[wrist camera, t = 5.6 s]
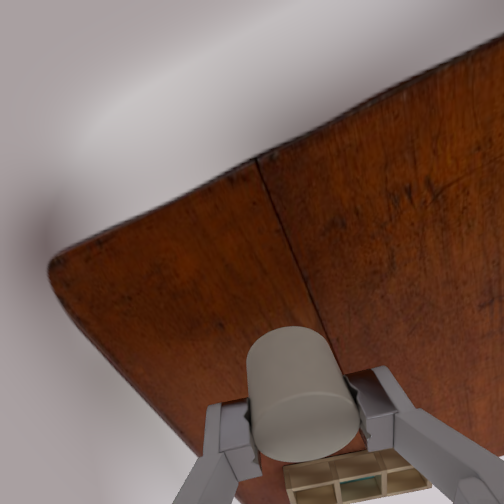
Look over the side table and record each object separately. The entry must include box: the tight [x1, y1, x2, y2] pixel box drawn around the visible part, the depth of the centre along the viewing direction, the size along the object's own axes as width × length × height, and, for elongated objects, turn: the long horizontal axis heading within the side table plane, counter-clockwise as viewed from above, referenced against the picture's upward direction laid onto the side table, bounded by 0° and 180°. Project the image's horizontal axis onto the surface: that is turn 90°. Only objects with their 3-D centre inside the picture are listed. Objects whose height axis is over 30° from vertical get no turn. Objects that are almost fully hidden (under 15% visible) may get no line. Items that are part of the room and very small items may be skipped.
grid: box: [283, 448, 432, 504], centre depth 33 cm, size 18×6×2 cm, turn 103°
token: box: [246, 326, 360, 462], centre depth 10 cm, size 4×4×3 cm
